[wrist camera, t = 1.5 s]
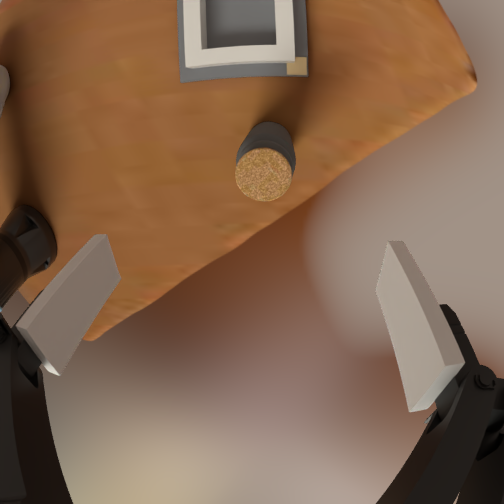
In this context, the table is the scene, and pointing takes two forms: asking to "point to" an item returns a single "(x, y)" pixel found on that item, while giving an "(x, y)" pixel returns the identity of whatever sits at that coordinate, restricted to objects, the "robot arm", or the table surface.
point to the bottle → (265, 162)
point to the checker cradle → (241, 39)
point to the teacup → (3, 86)
